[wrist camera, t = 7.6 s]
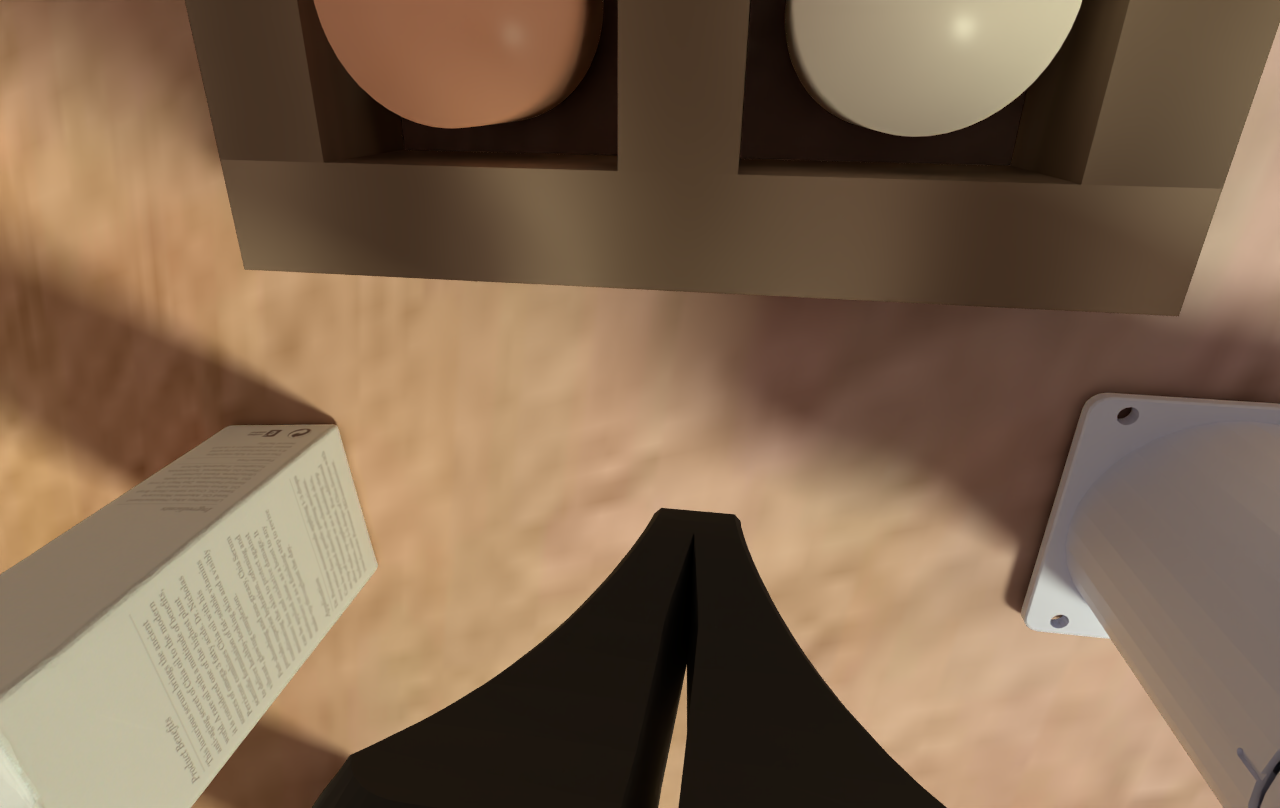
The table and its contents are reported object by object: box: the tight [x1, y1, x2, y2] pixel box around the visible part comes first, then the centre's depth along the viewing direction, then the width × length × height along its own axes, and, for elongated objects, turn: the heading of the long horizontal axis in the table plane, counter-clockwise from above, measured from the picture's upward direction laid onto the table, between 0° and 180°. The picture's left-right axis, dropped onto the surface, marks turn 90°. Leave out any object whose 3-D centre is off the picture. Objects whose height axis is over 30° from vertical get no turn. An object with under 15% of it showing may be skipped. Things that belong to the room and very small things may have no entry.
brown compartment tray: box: [185, 0, 1280, 316], centre depth 15 cm, size 21×12×4 cm, turn 89°
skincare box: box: [0, 424, 378, 808], centre depth 19 cm, size 6×4×12 cm
